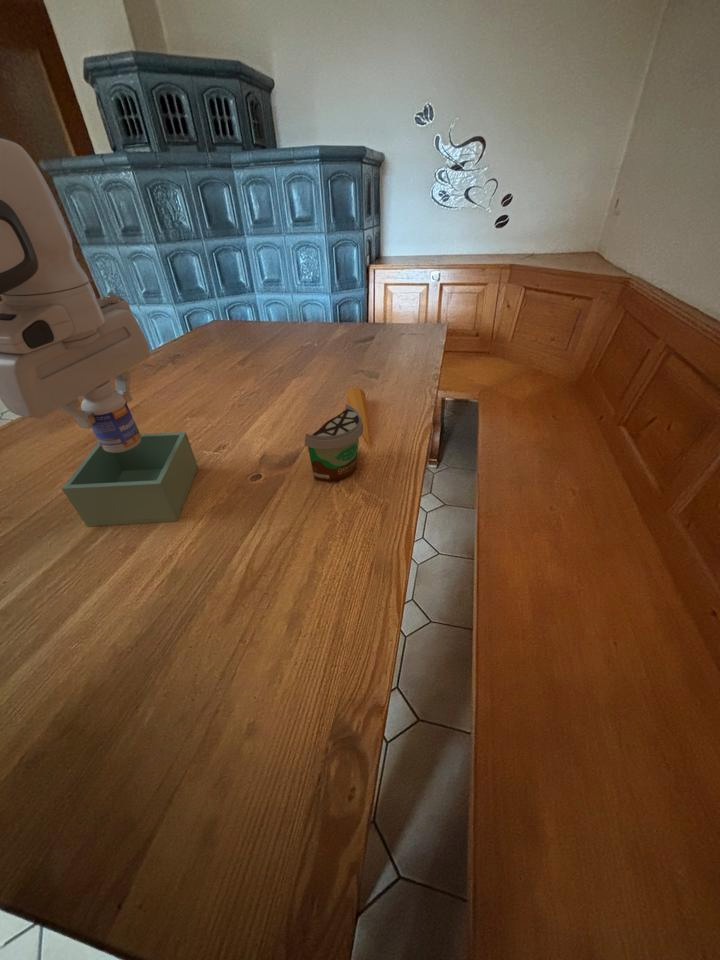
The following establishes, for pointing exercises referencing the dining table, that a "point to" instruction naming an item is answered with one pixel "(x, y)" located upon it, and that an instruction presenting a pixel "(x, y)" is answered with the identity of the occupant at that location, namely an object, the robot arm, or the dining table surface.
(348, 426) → the food container
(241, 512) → the dining table surface
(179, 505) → the tub
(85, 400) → the pill bottle
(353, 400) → the carrot
